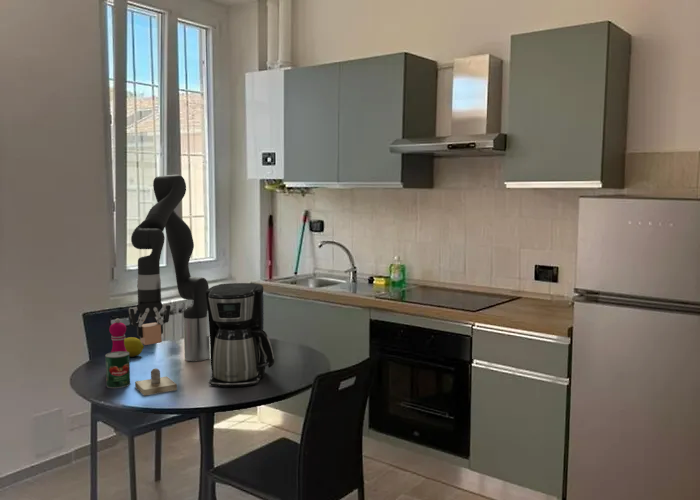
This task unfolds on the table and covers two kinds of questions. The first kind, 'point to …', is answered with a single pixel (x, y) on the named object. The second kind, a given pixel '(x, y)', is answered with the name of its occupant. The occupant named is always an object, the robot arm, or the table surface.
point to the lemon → (133, 346)
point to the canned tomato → (117, 369)
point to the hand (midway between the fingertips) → (150, 336)
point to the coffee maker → (237, 334)
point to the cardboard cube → (151, 333)
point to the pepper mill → (118, 336)
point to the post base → (155, 384)
